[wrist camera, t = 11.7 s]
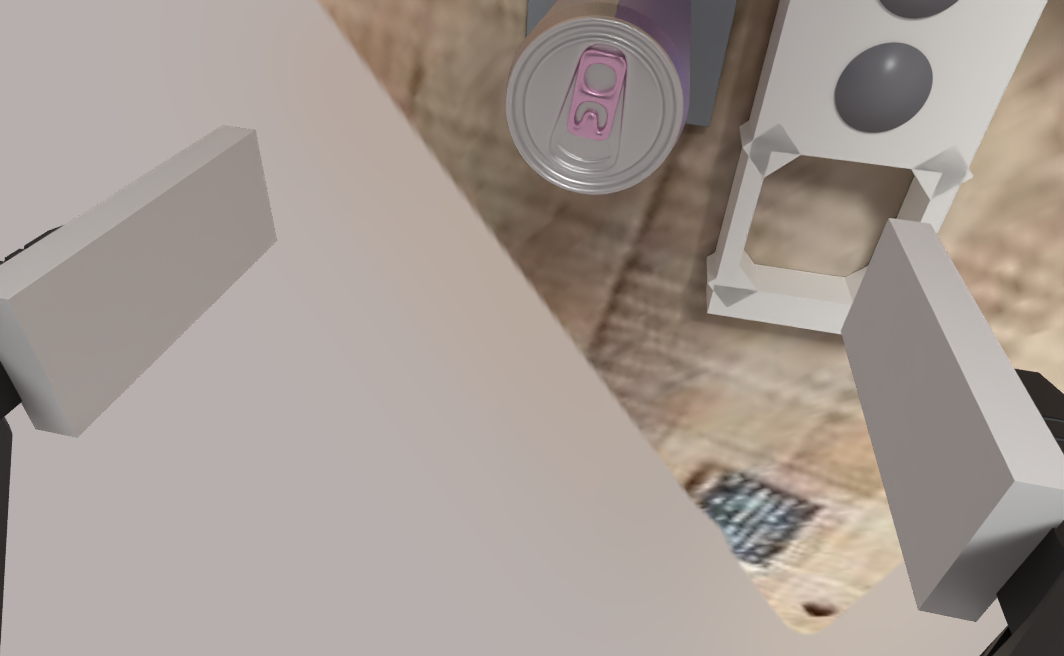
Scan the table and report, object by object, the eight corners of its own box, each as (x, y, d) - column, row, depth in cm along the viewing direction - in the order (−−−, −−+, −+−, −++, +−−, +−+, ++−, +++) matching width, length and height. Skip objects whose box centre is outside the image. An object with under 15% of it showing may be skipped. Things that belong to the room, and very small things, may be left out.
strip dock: (877, -428, 24) (902, -464, 21) (1214, -418, 23) (1289, -454, 20) (699, 284, 42) (700, 317, 39) (882, 312, 40) (896, 349, 38)
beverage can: (708, -41, 31) (716, 36, 19) (670, 88, 35) (657, 219, 23) (582, -69, 31) (514, -11, 20) (557, 61, 35) (487, 177, 23)
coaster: (536, -118, 31) (534, -117, 31) (757, -99, 30) (758, -98, 30) (525, 99, 37) (522, 103, 37) (708, 122, 36) (709, 126, 36)
